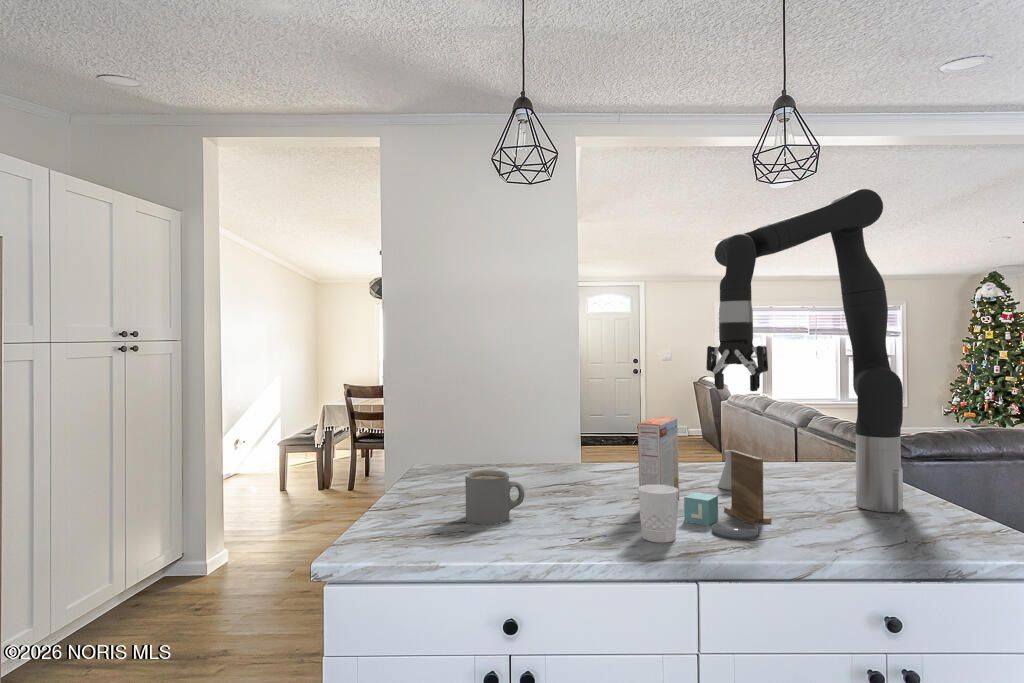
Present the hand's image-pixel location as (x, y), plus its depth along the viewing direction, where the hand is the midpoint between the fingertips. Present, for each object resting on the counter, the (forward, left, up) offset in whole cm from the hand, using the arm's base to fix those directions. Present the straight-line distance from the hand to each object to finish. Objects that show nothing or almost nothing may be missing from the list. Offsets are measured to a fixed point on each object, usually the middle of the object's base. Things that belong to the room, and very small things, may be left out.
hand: (736, 390), depth 149 cm
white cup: (+6, +30, -28) cm, 42 cm away
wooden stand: (-3, +4, -28) cm, 29 cm away
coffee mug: (+42, +39, -28) cm, 64 cm away
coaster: (-5, +17, -28) cm, 34 cm away
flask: (+10, -22, -28) cm, 37 cm away
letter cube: (+4, +13, -28) cm, 31 cm away
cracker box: (+17, +7, -28) cm, 34 cm away
